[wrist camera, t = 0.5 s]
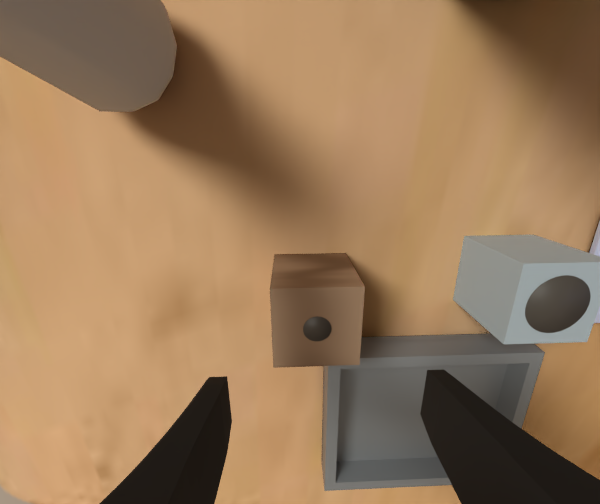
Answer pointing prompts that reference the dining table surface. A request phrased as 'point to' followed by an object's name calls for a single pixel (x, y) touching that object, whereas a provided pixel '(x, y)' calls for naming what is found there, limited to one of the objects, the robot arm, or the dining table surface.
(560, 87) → the dining table surface
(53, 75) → the salt shaker
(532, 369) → the tray
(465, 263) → the wide bore block
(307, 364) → the small bore block
